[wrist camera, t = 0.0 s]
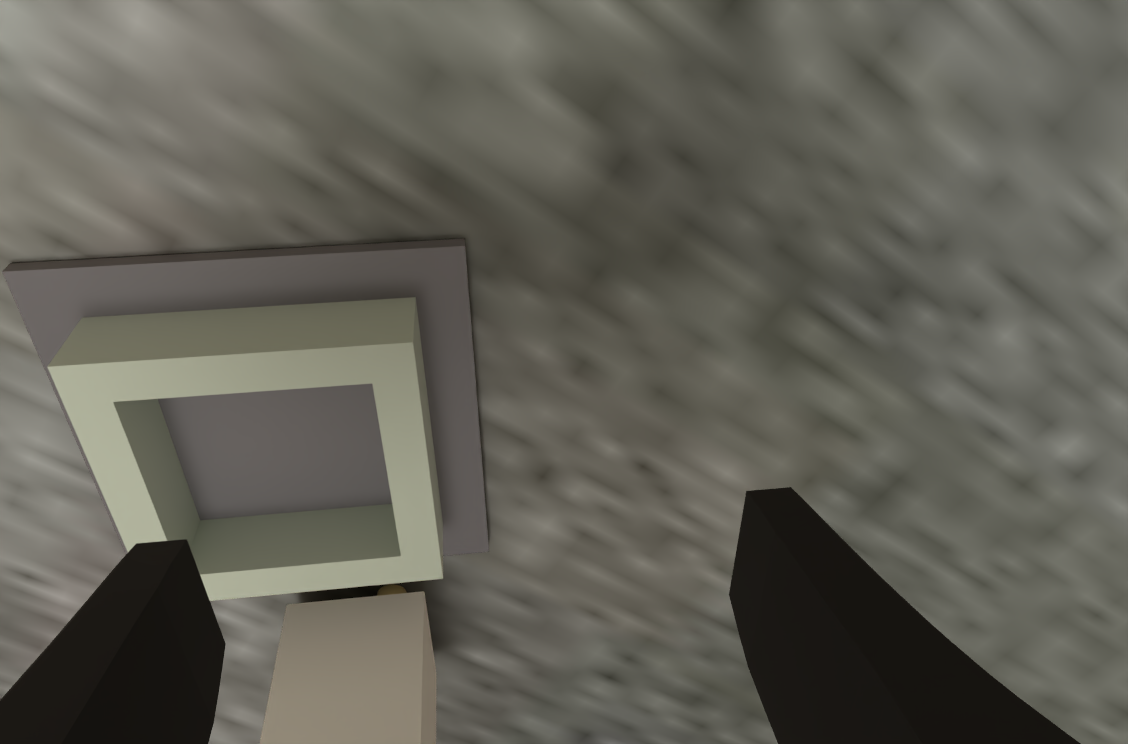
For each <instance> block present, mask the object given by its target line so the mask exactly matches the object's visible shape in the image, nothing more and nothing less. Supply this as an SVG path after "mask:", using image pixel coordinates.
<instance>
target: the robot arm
mask: <svg viewBox="0 0 1128 744" xmlns="http://www.w3.org/2000/svg"><path fill="white" fill-rule="evenodd" d="M729 596H730V600H731V604H732V608H733V612H734V616H735V620H736V624H737V628H738V632H739V635H740V639H741V643H742V646H743V650H744V654H745V657H746V661H747V664H748V667H749V670H750V673H751V675H752V678H753V681H754V683H755V686H756V688H757V691H758V694H759V696H760V699H761V701H762V704H763V706H764V709H765V712H766V714H767V717H768V719H769V722H770V724H771V727H772V729H773V732H774V734H775V737H776V739H777V742H778V744H1080V743H1079V742H1078V741H1076V740H1075V739H1073V738H1072V737H1071V736H1069V735H1068V734H1067V733H1065V732H1064V731H1063V730H1061V729H1060V728H1059V727H1057V726H1056V725H1055V724H1053V723H1052V722H1051V721H1049V720H1048V719H1047V718H1045V717H1044V716H1043V715H1041V714H1040V713H1039V712H1037V711H1036V710H1035V709H1033V708H1032V707H1031V706H1029V705H1028V704H1027V703H1025V702H1024V701H1023V700H1021V699H1020V698H1019V697H1017V696H1016V695H1015V694H1014V693H1012V692H1011V691H1010V690H1008V689H1007V688H1006V687H1005V686H1003V685H1002V684H1001V683H1000V682H998V681H997V680H996V679H995V678H993V677H992V676H991V675H990V674H989V673H987V672H986V671H985V670H984V669H983V668H981V667H980V666H979V665H978V664H977V663H975V662H974V661H973V660H972V659H971V658H970V657H968V656H967V655H966V654H965V653H964V652H963V651H961V650H960V649H959V648H958V647H957V646H956V645H954V644H953V643H952V642H951V641H950V640H949V639H947V638H946V637H945V636H944V635H943V634H942V633H941V632H940V631H938V630H937V629H936V628H935V627H934V626H933V625H932V624H931V623H930V622H928V621H927V620H926V619H925V618H924V617H923V616H922V615H921V614H920V613H919V612H918V611H916V610H915V609H914V608H913V607H912V606H911V605H910V604H909V603H908V602H907V601H906V600H905V599H904V598H903V597H901V596H900V595H899V594H898V593H897V592H896V591H895V590H894V589H893V588H892V587H891V586H890V585H889V584H888V583H887V582H885V581H884V580H883V579H882V578H881V577H880V576H879V575H878V574H877V573H876V572H875V571H874V570H873V569H872V568H871V567H870V566H869V565H868V564H867V563H866V562H865V561H864V560H863V559H862V558H861V557H860V556H859V555H858V554H857V553H856V552H855V551H854V550H853V549H852V548H851V547H850V546H849V545H848V544H847V543H846V542H845V541H844V540H843V539H842V538H841V537H840V536H839V535H838V534H837V533H836V532H835V531H834V530H833V529H832V528H831V527H830V526H829V525H828V524H827V523H826V522H825V521H824V520H823V519H822V518H821V517H820V516H819V515H818V514H817V513H816V512H815V511H814V510H813V509H812V508H811V507H810V506H809V505H808V504H807V503H806V502H805V501H804V500H803V499H802V498H801V497H800V496H799V495H798V494H797V493H796V492H795V491H794V490H793V489H792V488H791V487H790V488H778V489H766V490H755V491H746V497H745V503H744V509H743V515H742V521H741V527H740V533H739V539H738V545H737V551H736V557H735V563H734V569H733V575H732V580H731V586H730V592H729ZM224 651H225V641H224V639H223V636H222V633H221V630H220V628H219V625H218V622H217V620H216V617H215V614H214V611H213V609H212V606H211V603H210V601H209V598H208V595H207V592H206V590H205V587H204V584H203V581H202V579H201V576H200V573H199V571H198V568H197V565H196V562H195V560H194V557H193V554H192V552H191V549H190V546H189V543H188V541H187V539H183V540H171V541H159V542H148V543H136V544H135V545H134V547H133V548H132V549H131V550H130V551H129V552H128V553H127V554H126V555H125V557H124V558H123V559H122V560H121V561H120V562H119V563H118V565H117V566H116V567H115V568H114V569H113V570H112V572H111V573H110V574H109V575H108V576H107V577H106V579H105V580H104V581H103V582H102V583H101V585H100V586H99V587H98V588H97V589H96V590H95V592H94V593H93V594H92V595H91V596H90V598H89V599H88V600H87V601H86V602H85V604H84V605H83V606H82V607H81V608H80V609H79V611H78V612H77V613H76V614H75V615H74V616H73V618H72V619H71V620H70V621H69V622H68V623H67V625H66V626H65V627H64V628H63V629H62V631H61V632H60V633H59V634H58V635H57V636H56V638H55V639H54V640H53V641H52V642H51V643H50V645H49V646H48V647H47V648H46V649H45V650H44V651H43V652H42V654H41V655H40V656H39V657H38V658H37V659H36V660H35V661H34V663H33V664H32V665H31V666H30V667H29V668H28V669H27V671H26V672H25V673H24V674H23V675H22V676H21V677H20V678H19V680H18V681H17V682H16V683H15V684H14V685H13V686H12V687H11V689H10V690H9V691H8V692H7V693H6V694H5V695H4V696H3V698H2V699H1V700H0V744H208V742H209V738H210V734H211V730H212V727H213V723H214V717H215V711H216V705H217V699H218V693H219V686H220V679H221V672H222V665H223V658H224Z"/></svg>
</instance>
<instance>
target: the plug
mask: <svg viewBox="0 0 1128 744" xmlns="http://www.w3.org/2000/svg"><path fill="white" fill-rule="evenodd" d="M436 680H437V674H436V667H435V660H434V653H433V647H432V640H431V633H430V626H429V620H428V613H427V606H426V599H425V593H424V591H422V592H412V593H407V592H406V590H405V589H404V588H403V587H402V586H400V585H396V584H389V585H385V586H383V587H381V588H380V589H379V590H378V592H377V596H370V597H360V598H349V599H339V600H328V601H318V602H307V603H297V604H287V606H286V611H285V616H284V621H283V626H282V632H281V637H280V642H279V647H278V652H277V657H276V662H275V667H274V673H273V678H272V683H271V688H270V693H269V698H268V703H267V708H266V714H265V719H264V724H263V729H262V734H261V739H260V744H436Z"/></svg>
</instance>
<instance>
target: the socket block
mask: <svg viewBox="0 0 1128 744" xmlns="http://www.w3.org/2000/svg"><path fill="white" fill-rule="evenodd" d="M2 273H3V275H4V277H5V279H6V282H7V284H8V286H9V289H10V291H11V293H12V295H13V298H14V300H15V302H16V305H17V307H18V309H19V311H20V314H21V316H22V318H23V321H24V323H25V325H26V328H27V330H28V332H29V334H30V337H31V339H32V341H33V344H34V346H35V348H36V350H37V353H38V355H39V357H40V360H41V362H42V364H43V366H44V369H45V371H46V373H47V376H48V378H49V380H50V382H51V385H52V387H53V389H54V392H55V394H56V396H57V398H58V401H59V403H60V405H61V408H62V410H63V412H64V414H65V417H66V419H67V421H68V424H69V426H70V428H71V430H72V433H73V435H74V437H75V440H76V442H77V444H78V446H79V449H80V451H81V453H82V456H83V458H84V460H85V462H86V465H87V467H88V469H89V472H90V474H91V476H92V478H93V481H94V483H95V485H96V488H97V490H98V492H99V494H100V497H101V499H102V501H103V504H104V506H105V508H106V510H107V513H108V515H109V517H110V520H111V522H112V524H113V526H114V529H115V531H116V533H117V536H118V538H119V540H120V542H121V545H122V547H123V549H124V552H125V554H127V553H128V552H129V551H130V550H131V549H132V548H133V547H134V545H135V544H136V543H148V542H159V541H171V540H183V539H187V541H188V543H189V546H190V549H191V552H192V554H193V557H194V560H195V562H196V565H197V568H198V571H199V573H200V576H201V579H202V581H203V584H204V587H205V590H206V592H207V595H208V598H209V601H214V600H224V599H235V598H246V597H256V596H267V595H277V594H288V593H298V592H309V591H320V590H330V589H341V588H351V587H362V586H372V585H383V584H393V583H404V582H415V581H425V580H436V579H443V556H449V555H460V554H470V553H481V552H489V543H488V530H487V517H486V505H485V492H484V479H483V466H482V454H481V441H480V428H479V415H478V403H477V390H476V377H475V364H474V352H473V339H472V326H471V313H470V301H469V288H468V275H467V262H466V250H465V238H464V239H445V240H427V241H409V242H391V243H373V244H354V245H336V246H318V247H300V248H282V249H263V250H245V251H227V252H209V253H191V254H172V255H154V256H136V257H118V258H100V259H81V260H63V261H45V262H27V263H10V264H9V265H8V266H7V267H6V268H5V269H4V270H3V271H2Z"/></svg>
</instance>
